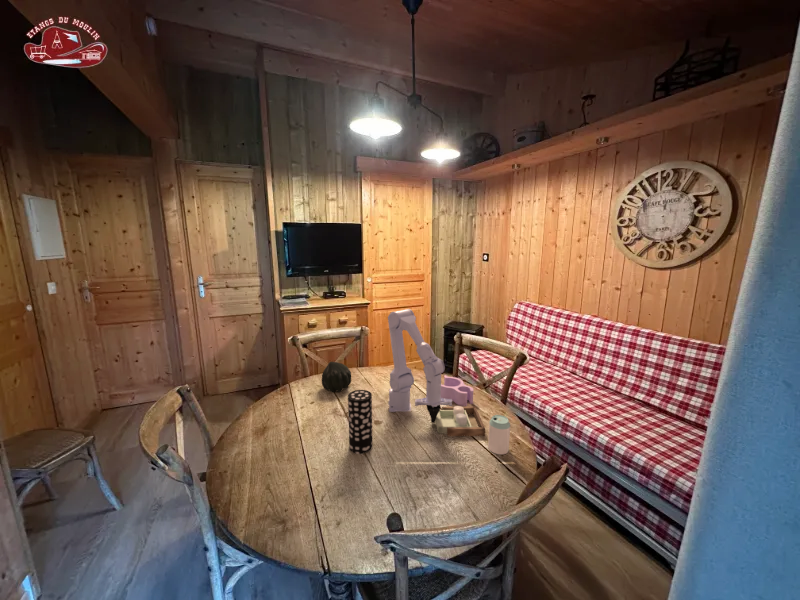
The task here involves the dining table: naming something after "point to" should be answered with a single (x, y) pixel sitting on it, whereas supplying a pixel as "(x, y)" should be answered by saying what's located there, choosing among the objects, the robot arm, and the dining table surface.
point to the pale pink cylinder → (457, 411)
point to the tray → (447, 420)
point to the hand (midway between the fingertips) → (432, 421)
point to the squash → (336, 377)
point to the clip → (456, 391)
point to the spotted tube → (360, 421)
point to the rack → (467, 430)
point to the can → (499, 434)
